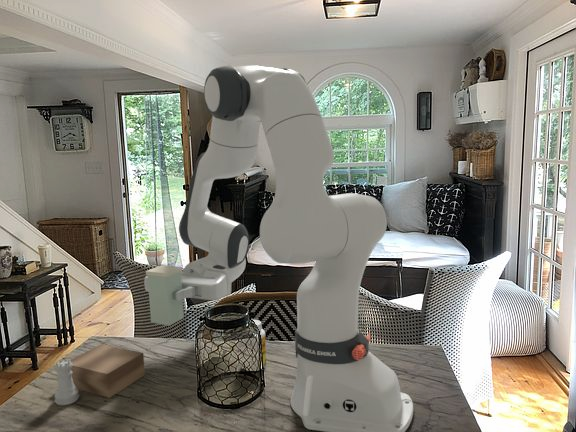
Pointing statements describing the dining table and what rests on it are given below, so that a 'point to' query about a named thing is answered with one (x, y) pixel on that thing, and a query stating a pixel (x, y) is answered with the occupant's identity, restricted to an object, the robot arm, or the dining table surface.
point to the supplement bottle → (262, 340)
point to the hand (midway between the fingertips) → (163, 294)
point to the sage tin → (165, 294)
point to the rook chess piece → (65, 384)
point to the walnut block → (107, 369)
